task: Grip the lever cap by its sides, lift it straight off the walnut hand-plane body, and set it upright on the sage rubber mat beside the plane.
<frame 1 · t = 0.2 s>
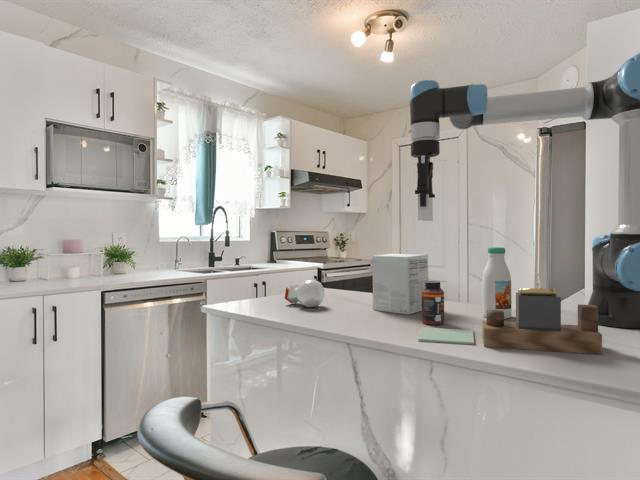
hand: (425, 220, 115), 28 cm above the table, fingers open, 13 cm apart
mat: (446, 336, 102), on the table
potion bottle: (304, 306, 145), on the table
supplement box: (400, 310, 137), on the table
milk bottle: (496, 317, 123), on the table
supplement bottle: (432, 323, 116), on the table
lever cap: (537, 327, 93), point 4 cm above the table, touching plane body
plane body: (537, 345, 93), on the table
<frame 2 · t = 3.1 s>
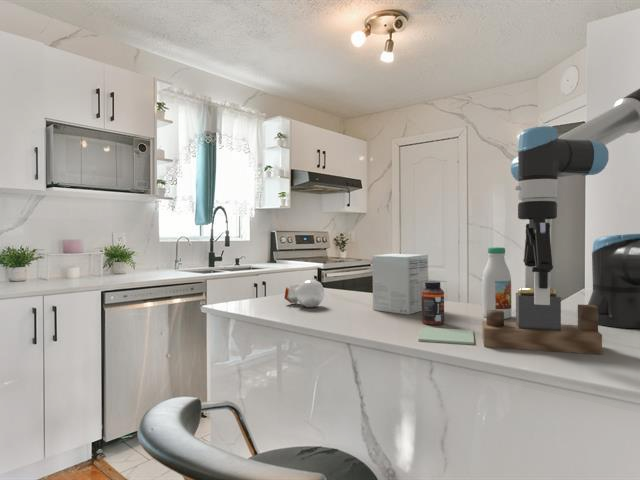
hand: (536, 299, 92), 10 cm above the table, fingers open, 13 cm apart
nothing on the table moved.
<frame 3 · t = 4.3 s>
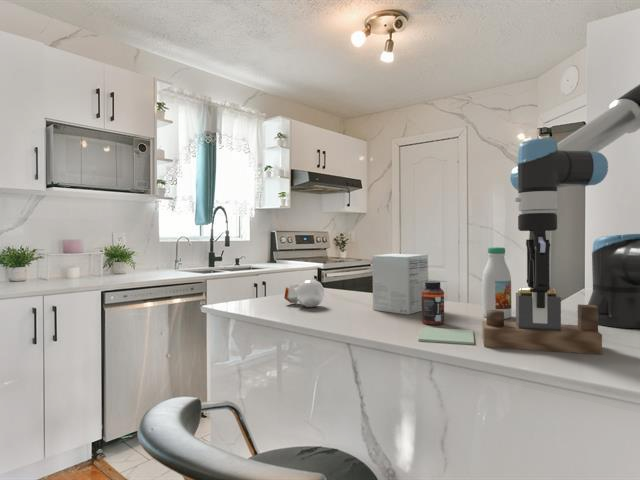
hand: (537, 319, 93), 6 cm above the table, fingers closed on lever cap, 5 cm apart
lever cap: (537, 327, 93), point 4 cm above the table, touching gripper, plane body
everything else where it was.
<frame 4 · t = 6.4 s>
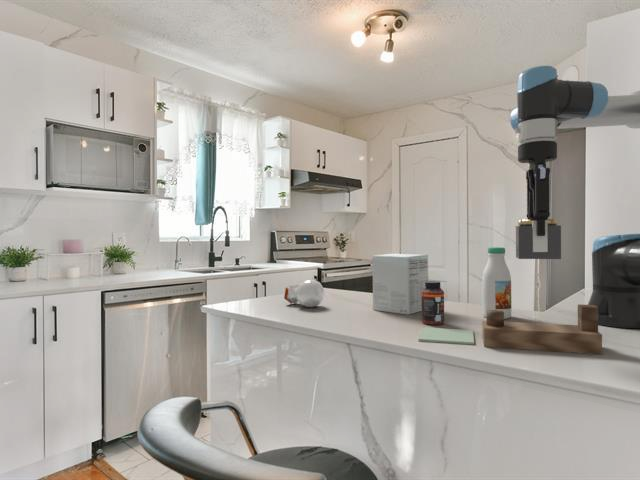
hand: (537, 250, 92), 21 cm above the table, fingers closed on lever cap, 5 cm apart
lever cap: (537, 258, 92), point 19 cm above the table, touching gripper
everything else where it was.
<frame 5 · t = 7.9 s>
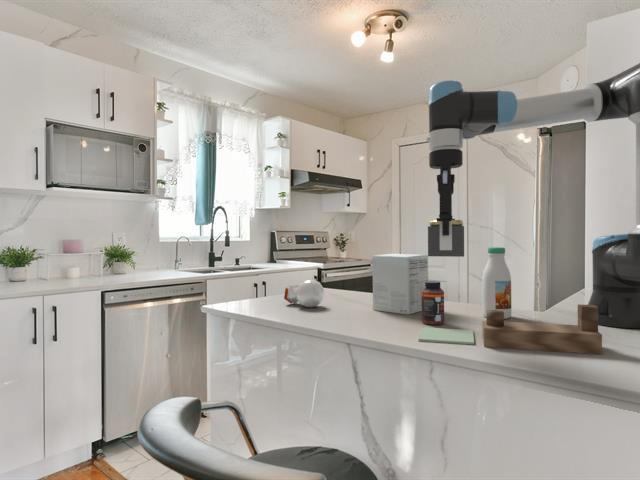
hand: (446, 249, 101), 21 cm above the table, fingers closed on lever cap, 5 cm apart
lever cap: (446, 255, 101), point 19 cm above the table, touching gripper
everything else where it was.
when the fingers open (4 cm above the table, at t = 11.8 s): lever cap drops 1 cm, resting on mat.
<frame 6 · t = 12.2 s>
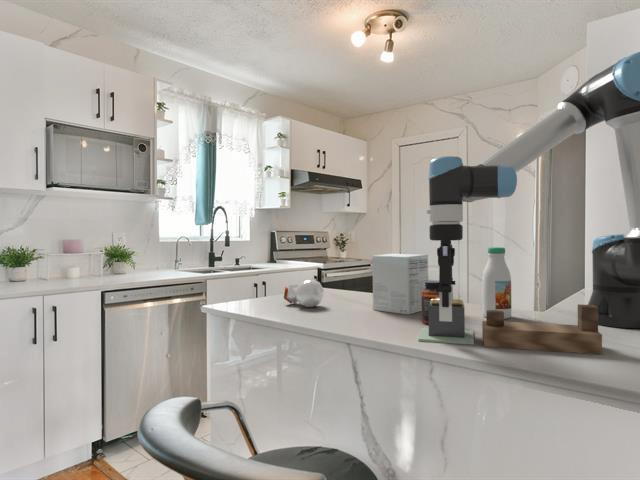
hand: (446, 315, 101), 5 cm above the table, fingers open, 11 cm apart
lever cap: (446, 334, 102), resting on mat
everything else where it was.
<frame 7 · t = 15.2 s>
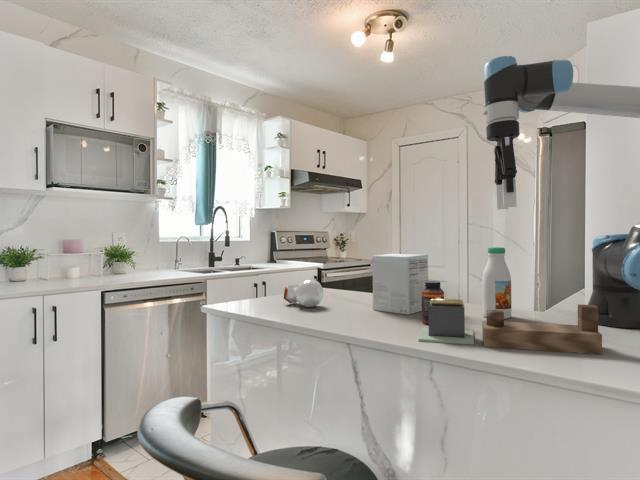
hand: (506, 208, 107), 30 cm above the table, fingers open, 13 cm apart
nothing on the table moved.
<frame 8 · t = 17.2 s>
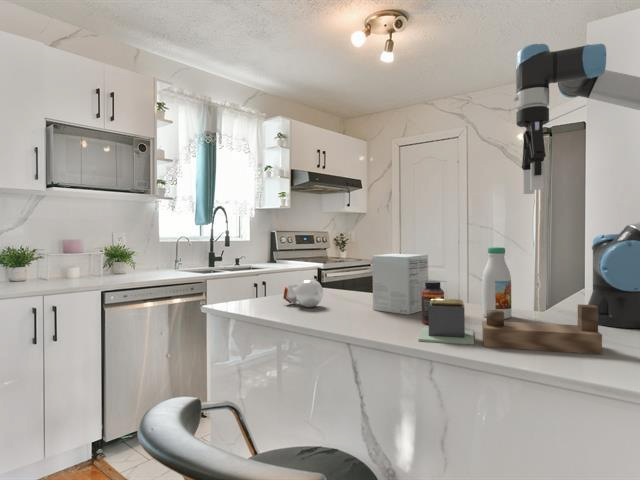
hand: (532, 192, 110), 35 cm above the table, fingers open, 13 cm apart
nothing on the table moved.
at the end: lever cap inside the target area on the mat (0.0 cm from its centre), point 0.5 cm above the mat's base; lever cap touching mat; lever cap tilted 0° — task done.
